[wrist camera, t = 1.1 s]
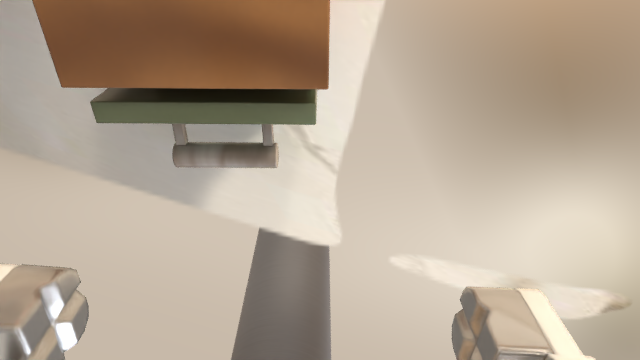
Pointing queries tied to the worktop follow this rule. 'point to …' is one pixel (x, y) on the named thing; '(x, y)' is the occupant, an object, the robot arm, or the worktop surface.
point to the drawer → (211, 119)
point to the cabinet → (188, 43)
